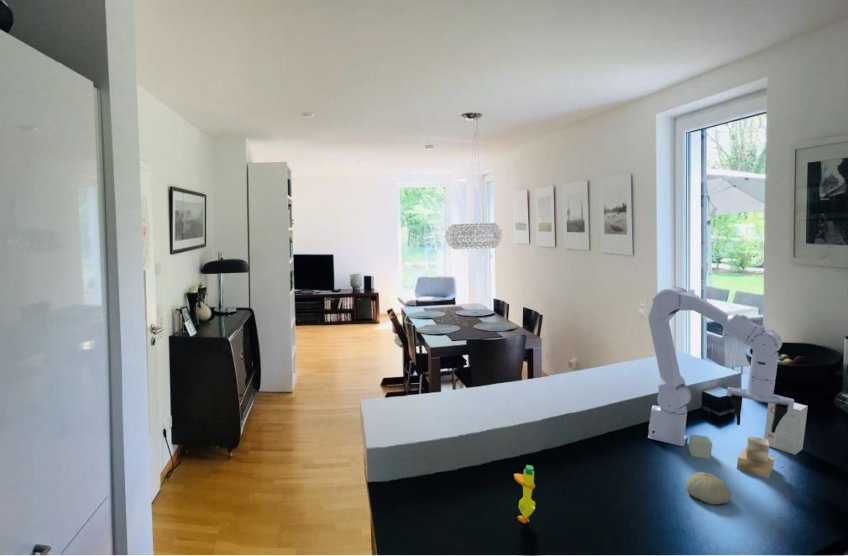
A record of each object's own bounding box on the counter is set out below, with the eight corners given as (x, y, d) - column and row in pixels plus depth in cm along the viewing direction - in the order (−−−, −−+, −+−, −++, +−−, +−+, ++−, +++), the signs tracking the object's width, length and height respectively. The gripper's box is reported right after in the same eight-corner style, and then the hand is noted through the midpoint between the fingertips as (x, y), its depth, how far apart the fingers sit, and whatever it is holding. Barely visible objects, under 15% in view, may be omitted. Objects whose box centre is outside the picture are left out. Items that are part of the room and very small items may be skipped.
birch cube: (746, 458, 134) (748, 441, 134) (745, 451, 138) (747, 435, 138) (767, 463, 132) (769, 446, 131) (766, 456, 136) (767, 439, 135)
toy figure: (506, 513, 110) (509, 459, 109) (519, 509, 112) (522, 456, 111) (527, 530, 105) (531, 474, 103) (540, 525, 106) (544, 470, 105)
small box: (802, 449, 149) (808, 405, 147) (795, 455, 145) (801, 410, 143) (770, 439, 155) (775, 397, 153) (762, 444, 151) (768, 401, 149)
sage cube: (692, 456, 141) (693, 440, 141) (688, 449, 146) (690, 434, 145) (710, 459, 140) (712, 443, 140) (706, 452, 144) (708, 436, 144)
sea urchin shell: (724, 481, 125) (733, 469, 118) (727, 515, 120) (736, 505, 114) (682, 473, 127) (689, 462, 121) (683, 506, 123) (690, 496, 117)
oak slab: (736, 469, 135) (738, 457, 135) (741, 461, 140) (743, 448, 140) (768, 479, 131) (770, 466, 130) (772, 470, 136) (774, 457, 136)
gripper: (729, 375, 135) (722, 425, 137) (797, 387, 127) (790, 440, 129) (730, 369, 141) (724, 417, 143) (795, 380, 133) (788, 430, 135)
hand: (755, 427), depth 136 cm, fingers open, 7 cm apart
